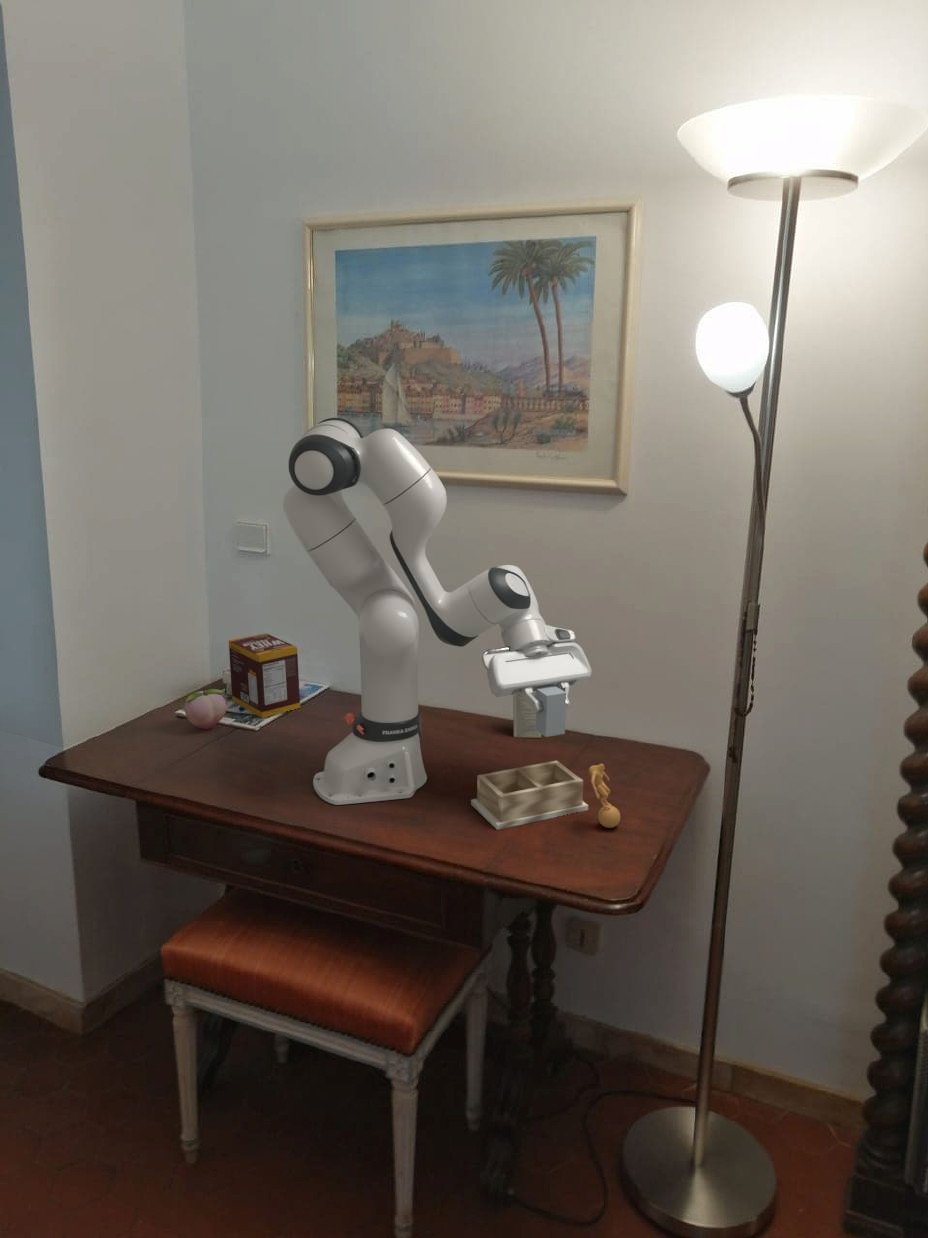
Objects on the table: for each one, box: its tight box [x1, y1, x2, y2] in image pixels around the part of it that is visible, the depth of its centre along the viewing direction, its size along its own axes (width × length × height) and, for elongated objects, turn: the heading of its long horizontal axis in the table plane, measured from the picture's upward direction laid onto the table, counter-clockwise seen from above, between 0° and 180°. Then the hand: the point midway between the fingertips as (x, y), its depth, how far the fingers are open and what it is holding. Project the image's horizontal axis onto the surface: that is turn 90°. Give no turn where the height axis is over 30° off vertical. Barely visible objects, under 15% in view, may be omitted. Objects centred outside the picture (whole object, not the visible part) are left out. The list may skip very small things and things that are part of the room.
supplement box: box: [228, 632, 301, 719], centre depth 233 cm, size 10×15×16 cm
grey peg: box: [535, 686, 567, 738], centre depth 180 cm, size 4×4×8 cm
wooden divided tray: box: [470, 760, 589, 831], centre depth 182 cm, size 19×11×6 cm, turn 114°
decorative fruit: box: [184, 687, 228, 730], centre depth 218 cm, size 9×8×10 cm
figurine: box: [588, 763, 621, 829], centre depth 175 cm, size 8×6×12 cm
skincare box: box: [512, 691, 542, 739], centre depth 216 cm, size 6×4×12 cm
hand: (552, 709), depth 179 cm, fingers closed on grey peg, 4 cm apart
